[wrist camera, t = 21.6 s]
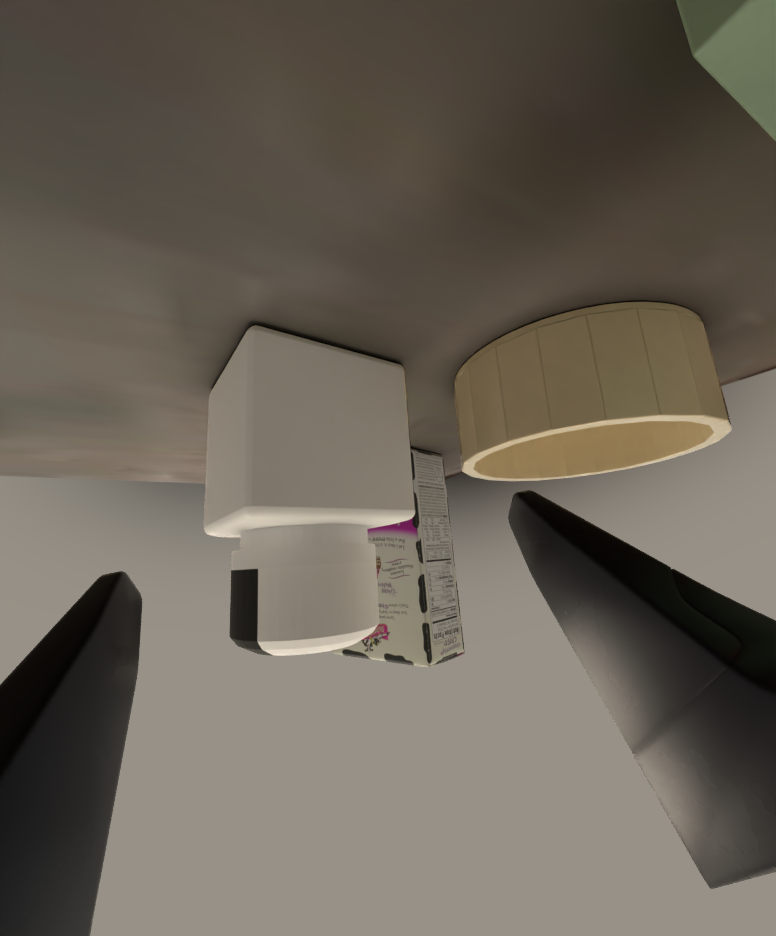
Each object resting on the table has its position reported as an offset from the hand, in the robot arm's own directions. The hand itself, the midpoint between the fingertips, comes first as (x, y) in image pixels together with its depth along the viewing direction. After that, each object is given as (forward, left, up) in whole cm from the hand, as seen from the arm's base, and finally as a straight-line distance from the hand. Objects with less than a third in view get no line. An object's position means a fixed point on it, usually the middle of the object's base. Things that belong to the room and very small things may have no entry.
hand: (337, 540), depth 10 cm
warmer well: (+3, +14, -8) cm, 16 cm away
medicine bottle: (+9, +2, -8) cm, 12 cm away
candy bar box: (+23, +14, -8) cm, 28 cm away
